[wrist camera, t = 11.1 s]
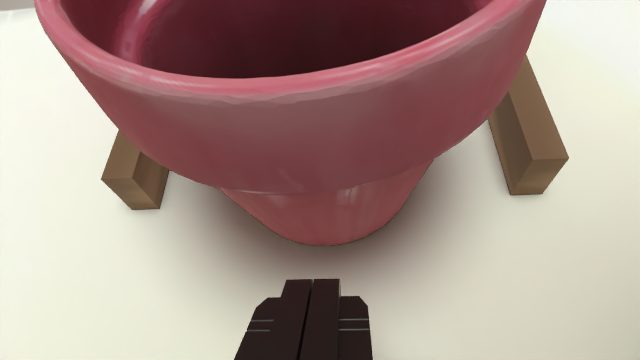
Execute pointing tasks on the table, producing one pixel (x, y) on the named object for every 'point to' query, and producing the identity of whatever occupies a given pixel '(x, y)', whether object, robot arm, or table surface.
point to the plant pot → (297, 94)
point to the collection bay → (505, 121)
